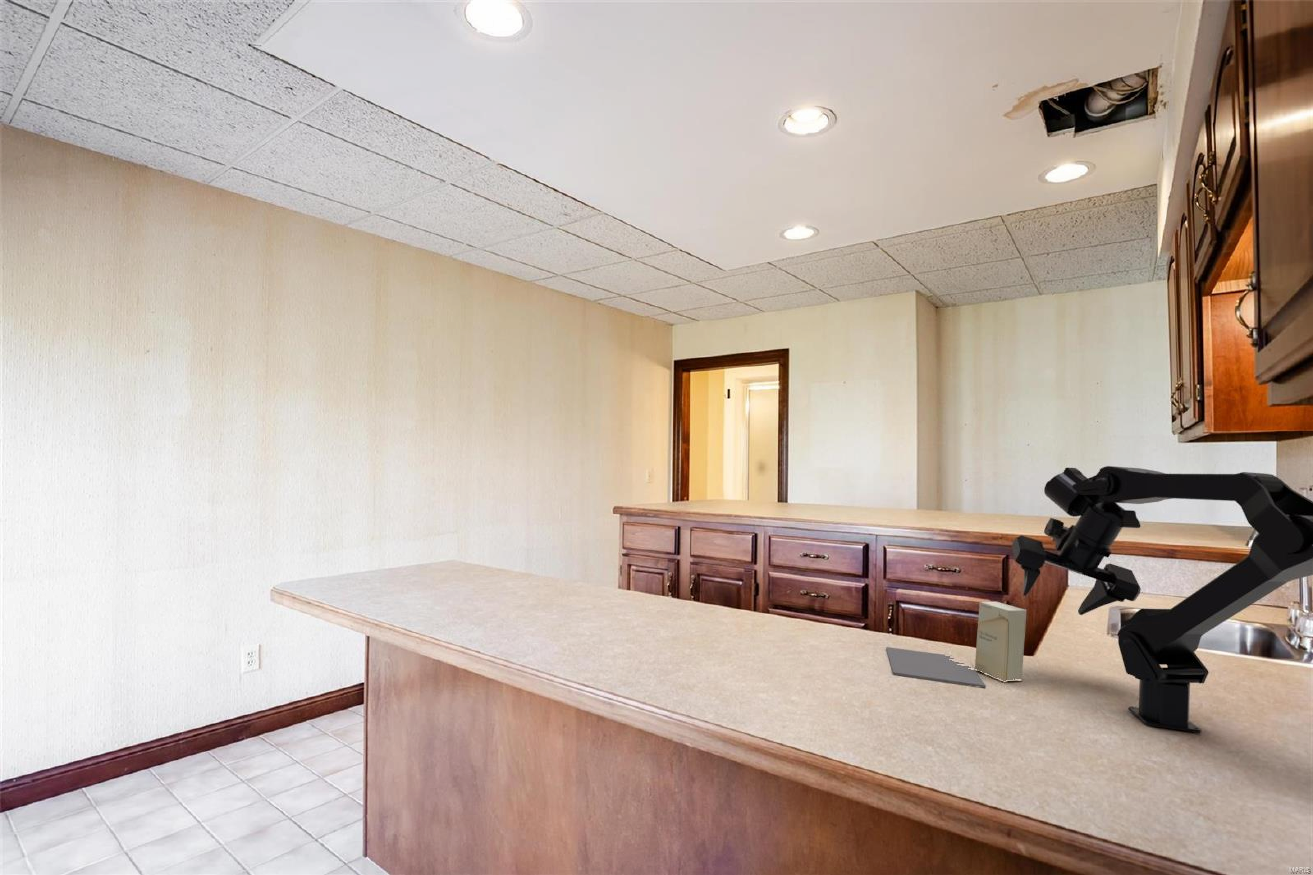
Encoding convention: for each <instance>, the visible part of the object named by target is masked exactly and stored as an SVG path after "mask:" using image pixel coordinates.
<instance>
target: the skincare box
mask: <svg viewBox="0 0 1313 875" xmlns="http://www.w3.org/2000/svg"><path fill="white" fill-rule="evenodd" d="M1026 620H1027V609H1026V608H1025V609H1024V608H1020V607H1017V606H1014V605H1009V604H1007V603H1003V602H999V601H979V605H978V619H977V621H978V623H977V630H976V633H977V635H976V645H975V646H976V649H975V660H974V661H975V662H974V663H975V664H974V669H977V670H979V671H982V672H983V673H987V674H989V675H991V676H993V677H995V678H999V679H1001V680H1003V681H1006V680H1013V679H1014V680H1015V679H1022V678H1023V667H1024V665H1023V664H1024V651H1025V639H1026V637H1025V635H1026V623H1027V621H1026ZM1022 680H1023V679H1022Z"/></svg>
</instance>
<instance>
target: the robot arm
mask: <svg viewBox="0 0 1313 875" xmlns="http://www.w3.org/2000/svg"><path fill="white" fill-rule="evenodd" d="M1044 485H1045V486H1044V491H1043V492H1044V495H1045V496H1046V497H1047V498H1048V499H1050V500H1051V501H1052V502H1053V503H1054V504H1055V505H1057V506H1058V507H1059V508H1060V509H1061V510H1063V511H1064V512H1065V513H1066V514H1067V515H1068V516H1070V517H1075V518H1076V517H1079V518H1078V520H1077V522H1076V523H1075V525H1073V524H1071V525H1070V527H1068V526H1064V525H1065V522H1063V521H1062V520H1060V519H1056V518H1053V517H1050V518H1049V520H1048V521H1047V523H1046V525H1045V528H1044V530H1043V533H1044V534H1045V535H1046V536H1048V537H1049V538H1052V539H1051V540H1052V542H1053V543H1056V544H1055V546H1054V548H1055V550H1056V551H1059V552H1058V554H1057V553H1054V552H1051V551H1049V550H1048V551H1047V550H1045V547H1044V545H1043V541H1041V540H1037V539H1035V538H1032V537H1028V536H1025V535H1022V534H1021V535H1019V536H1017V537H1015V538H1014V540H1013V541H1012V543H1011V550H1012V554H1013V558H1014V559H1013V560H1014V562H1016V563H1017V564H1018V565H1019V566H1020V569H1022V570H1023V571H1024V572H1023V583H1022V591H1021V592H1022V596H1023V597H1026V596H1027V595H1028V594H1029V593H1030V591H1031V590H1032V588H1033V586H1034V585H1035V583H1036V581H1037V580H1038V578H1039V577H1040V575H1041V570H1040V569H1041V568H1042V567H1044V564H1045V563H1046V564H1048V565H1052V566H1055V567H1057V568H1061V569H1064V570H1067V571H1069V572H1073V573H1076V574H1079V575H1083V576H1086V577H1087V578H1092V579H1095V582H1094V585H1093V587H1092V589H1091V590H1090V591H1089V592H1088V594H1087V595H1086V597H1085V598H1084V599H1083V601H1082V602H1081V604H1080V605H1079V607H1078V610H1077V612H1078V615H1080V616H1083V615H1085V614H1087V613H1089V612H1092V611H1094V610H1096V609H1098V608H1100V607H1103V606H1106V605H1109V604H1112V603H1115V602H1120V603H1124V602H1125V600H1127V601H1130V602H1134V601H1136V600H1137V599H1138V597H1139V595H1141V594H1140V593H1141V590H1142V588H1141V586H1140V584H1139V582H1138V579H1137V578H1136V576H1135V573H1134V572H1133V570H1131V569H1129V568H1125V567H1122V566H1119V565H1116V564H1113V563H1107V564H1105V566H1104V567H1103V568H1100V567H1099V565H1100V564H1101V563H1102V561H1103V559H1104V558H1109V557H1110V556H1111V554H1112V551H1111V550H1110V549H1111V547H1112V545H1113V543H1114V542H1115V540H1116V539H1117V537H1118V536H1119V534H1120V532H1121V531H1122V529H1124V528H1125V529H1127V528H1128V529H1140V528H1141V526H1142V525H1141V523H1140V521H1139V518H1138V517H1137V512H1136V511H1135V510H1133V509H1132V510H1129V509H1128V510H1127V509H1125V508H1123V507H1122V506H1121V505H1120V504H1132V505H1133V504H1134V505H1142V504H1143V505H1144V504H1150V503H1151V504H1152V503H1157V502H1158V503H1159V502H1162V501H1165V500H1171V499H1172V500H1173V499H1178V500H1180V499H1181V500H1199V501H1201V500H1203V501H1222V502H1223V501H1227V502H1236V503H1237V504H1238V505H1239V507H1240V508H1241V509H1242V512H1243V514H1244V517H1245V519H1246V521H1247V523H1248V524H1249V525H1250V526H1251V527H1252V528H1253V529H1254V530H1255V531H1256V532H1257V533H1258V534H1257V535H1256V536H1255V537H1254V538H1253V540H1252V543H1251V545H1250V550H1249V552H1248V554H1247V555H1246V556H1245V557H1244V558H1243V559H1241V560H1240V561H1238V562H1237V563H1235V564H1234V565H1233V566H1231V567H1229V569H1227V570H1225V571H1224V572H1221V574H1220V575H1218V576H1217V577H1215V578H1213V579H1212V580H1211V581H1209V582H1208V583H1207V584H1205V585H1204V586H1202V587H1201V588H1199V589H1198V590H1196V591H1195V592H1194V593H1192V594H1190V595H1188V596H1187V597H1186V598H1184V599H1183V600H1182V601H1180V602H1179V603H1177V604H1176V605H1175V606H1173V607H1172V608H1141V609H1139V610H1138V611H1135V614H1133V615H1132V616H1131V617H1130V618H1128V619H1126V620H1121V624H1122V625H1123V626H1121V627H1120V628H1119V629H1118V631H1117V643H1118V648H1119V650H1120V655H1121V658H1122V659H1121V660H1122V663H1123V665H1124V669H1125V672H1126V674H1127V675H1130V676H1133V677H1134V678H1135V680H1136V679H1137V680H1139V683H1138V684H1139V688H1138V707H1137V706H1128V707H1127V708H1128V711H1130V713H1132V714H1133V715H1134V716H1135V717H1136V718H1138V719H1139V720H1140V721H1141V722H1143V723H1145V725H1147V726H1151V727H1157V728H1158V727H1159V728H1164V729H1171V730H1176V731H1178V730H1179V731H1184V732H1191V733H1196V734H1197V733H1198V734H1201V732H1202V729H1201V728H1200V727H1198V726H1197V725H1196V724H1194V723H1193V722H1191V721H1190V696H1191V694H1190V693H1191V684H1204V683H1205V682H1206V679H1207V677H1208V675H1209V673H1210V671H1209V669H1208V668H1207V667H1206V666H1205V665H1204V663H1203V662H1202V661H1201V659H1200V658H1199V657H1198V656H1197V654H1196V651H1197V650H1198V648H1199V645H1200V641H1201V639H1202V637H1203V636H1204V635H1205V634H1206V633H1208V632H1209V631H1212V630H1213V629H1214V628H1216V627H1217V626H1220V625H1221V624H1222V623H1225V622H1226V621H1228V620H1229V619H1231V618H1232V617H1234V616H1235V615H1237V614H1239V613H1240V612H1242V611H1244V610H1246V609H1247V608H1248V607H1250V606H1251V605H1253V604H1255V603H1257V602H1258V601H1260V600H1261V599H1263V598H1264V597H1267V595H1269V594H1271V593H1273V592H1274V591H1276V590H1278V589H1279V588H1280V587H1282V586H1284V585H1286V584H1287V583H1289V582H1291V581H1295V580H1298V579H1302V578H1305V577H1310V576H1313V500H1311V499H1309V498H1308V497H1305V496H1304V495H1302V494H1301V493H1300V492H1297V491H1296V490H1294V489H1293V488H1291V486H1289V485H1288V484H1286V483H1285V482H1284V481H1283V480H1282V479H1280V478H1279V477H1278V476H1276V475H1274V474H1271V473H1265V472H1264V473H1262V472H1252V471H1251V472H1249V471H1243V472H1238V473H1165V472H1161V471H1157V470H1153V469H1146V468H1139V467H1128V466H1127V467H1126V466H1125V467H1124V466H1112V465H1111V466H1110V465H1107V466H1104V467H1101V468H1099V471H1098V472H1097V473H1096V475H1093V476H1091V477H1089V478H1088V477H1087V476H1085V474H1083V473H1082V472H1081V471H1080V470H1079V469H1078V468H1077V467H1065V469H1064V470H1063V472H1061V473H1058V474H1057V475H1054V476H1053V477H1052V478H1051V479H1050V480H1048V481H1047V482H1046V484H1044ZM1163 665H1166V666H1165V667H1161V666H1163Z"/></svg>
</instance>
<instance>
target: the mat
mask: <svg viewBox="0 0 1313 875" xmlns="http://www.w3.org/2000/svg"><path fill="white" fill-rule="evenodd" d="M885 651H886V654H887V657H888V660H889V664H890V668H891V672H892V675H893V676H899V677H906V678H914V679H920V680H928V681H934V682H940V683H947V684H948V683H949V684H955V685H960V686H968V685H971V686H970V687H975V686H980V687H979V688H982V687H986V686H987V685H986V684H985V682H984V680H982V678H981V677H980V675H979V674H978V671H976V670H971V669H968V668H971V667H969V666H961V665H957V664H964V663H959V662H954V661H952V660H949V659H954V658H950V656H951V655H950V656H945V655H946V654H942V653H935V652H933V653H932V652H926V651H919V650H913V649H911V650H910V649H904V648H897V647H890V646H886V647H885Z"/></svg>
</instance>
